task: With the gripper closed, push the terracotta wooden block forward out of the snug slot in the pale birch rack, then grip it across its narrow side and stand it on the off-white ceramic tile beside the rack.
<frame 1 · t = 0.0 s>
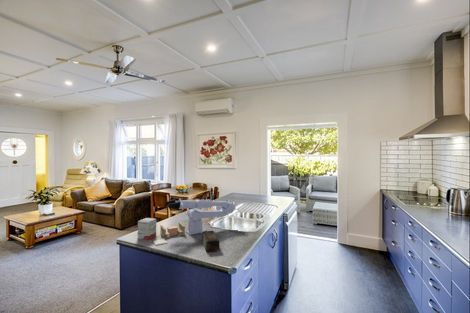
hand: (166, 204, 148), 22 cm above the counter, tool horizontal, fingers open, 7 cm apart
ink box: (147, 237, 148), on the counter
terracotta block: (172, 234, 154), on the counter
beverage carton: (210, 246, 137), on the counter
white tile: (160, 242, 140), on the counter
birch rack: (172, 234, 154), on the counter
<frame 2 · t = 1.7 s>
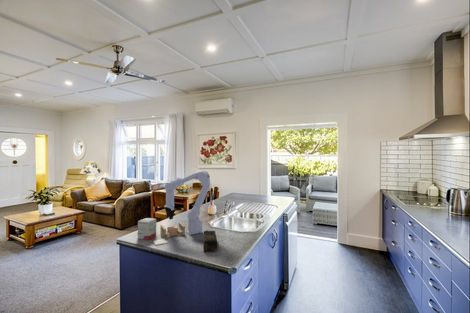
hand: (169, 218, 160), 9 cm above the counter, tool pointing down, fingers open, 6 cm apart
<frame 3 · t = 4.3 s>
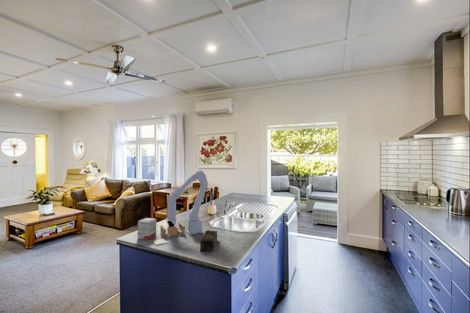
hand: (171, 231, 156), 2 cm above the counter, tool pointing down, fingers closed
terracotta block: (172, 234, 154), on the counter, touching gripper
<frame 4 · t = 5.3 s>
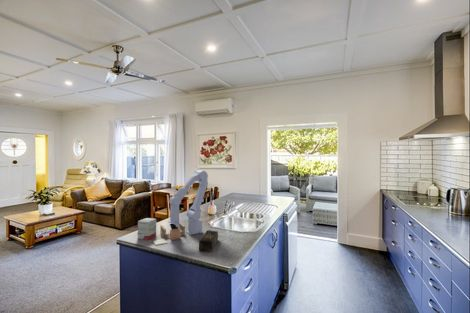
hand: (174, 234, 150), 1 cm above the counter, tool pointing down, fingers closed
terracotta block: (175, 237, 147), point 1 cm above the counter, tilted 16°, touching gripper
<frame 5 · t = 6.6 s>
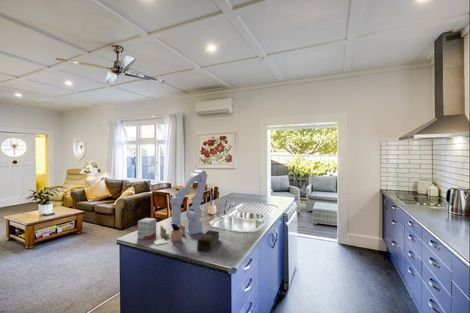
hand: (176, 234, 147), 2 cm above the counter, tool pointing down, fingers closed
terracotta block: (176, 239, 145), on the counter, tilted 14°
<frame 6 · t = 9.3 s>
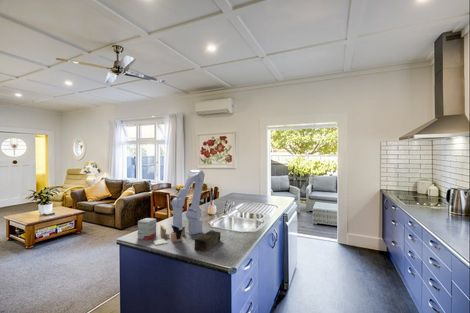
hand: (177, 237, 144), 1 cm above the counter, tool pointing down, fingers closed on terracotta block, 4 cm apart
terracotta block: (176, 240, 144), on the counter, touching gripper
when the fingers open (3 cm above the counter, at t = 12.9 s): terracotta block stays where it is, resting on white tile.
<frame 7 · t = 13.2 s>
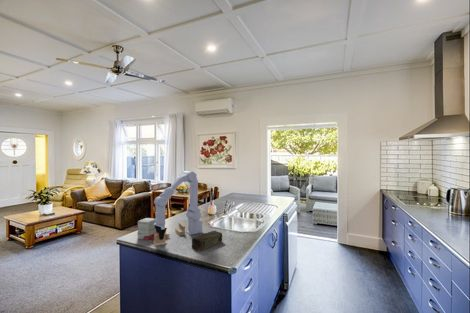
hand: (160, 237, 140), 3 cm above the counter, tool pointing down, fingers open, 6 cm apart
terracotta block: (159, 241, 140), point 1 cm above the counter, touching white tile
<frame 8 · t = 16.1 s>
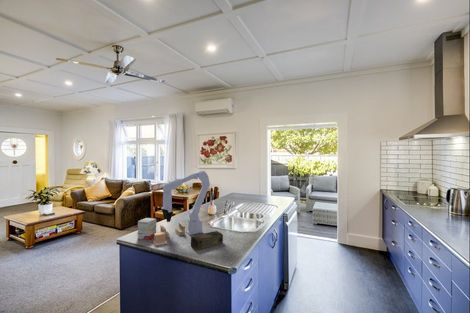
hand: (167, 220, 155), 9 cm above the counter, tool pointing down, fingers open, 7 cm apart
at the end: terracotta block 0.2 cm off-centre on the white tile, point 0.6 cm above the white tile's base; terracotta block tilted 0°; the gripper is holding nothing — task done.
